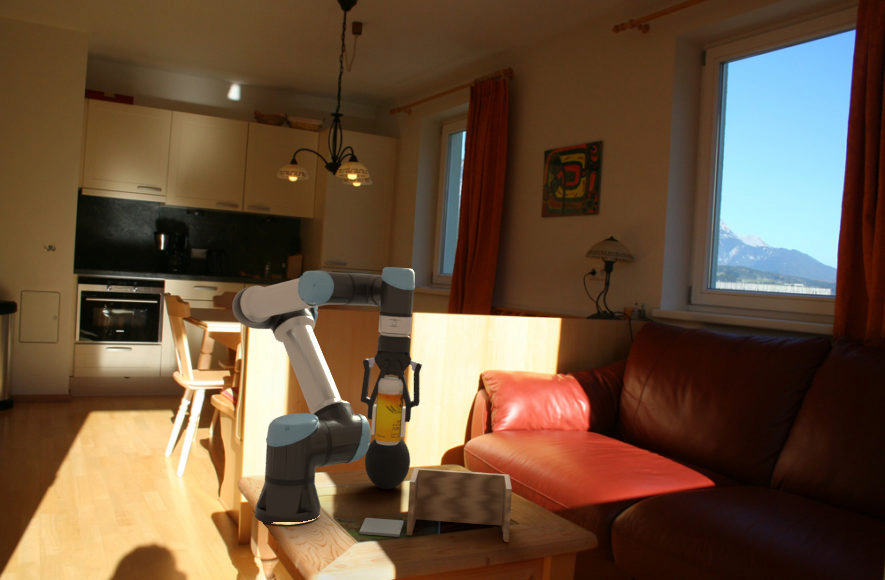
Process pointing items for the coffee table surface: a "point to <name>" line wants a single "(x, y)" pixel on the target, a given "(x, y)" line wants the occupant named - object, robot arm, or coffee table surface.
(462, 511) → the wooden monitor riser
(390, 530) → the slate coaster
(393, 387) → the beer can
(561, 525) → the coffee table surface
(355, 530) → the coffee table surface
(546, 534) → the coffee table surface
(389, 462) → the decorative egg
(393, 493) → the coffee table surface
